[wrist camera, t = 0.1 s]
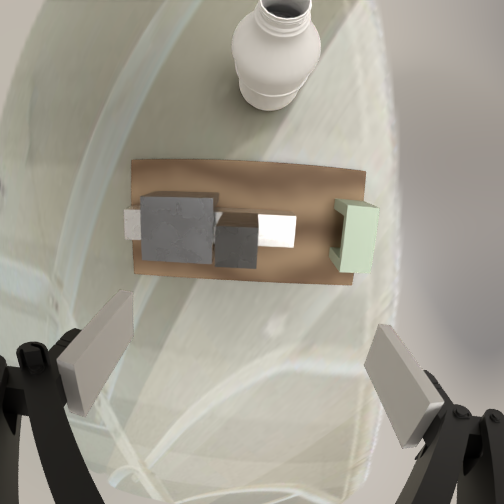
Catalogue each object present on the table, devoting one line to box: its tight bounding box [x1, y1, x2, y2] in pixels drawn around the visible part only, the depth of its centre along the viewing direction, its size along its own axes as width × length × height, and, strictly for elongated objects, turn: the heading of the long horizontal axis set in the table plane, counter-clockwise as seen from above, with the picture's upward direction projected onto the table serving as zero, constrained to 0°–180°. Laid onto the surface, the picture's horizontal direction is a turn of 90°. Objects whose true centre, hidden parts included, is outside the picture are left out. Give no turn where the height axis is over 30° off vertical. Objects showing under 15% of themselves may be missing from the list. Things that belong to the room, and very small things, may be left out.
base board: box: [131, 159, 366, 285], centre depth 42 cm, size 16×31×1 cm, turn 87°
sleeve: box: [140, 191, 219, 264], centre depth 39 cm, size 8×8×6 cm
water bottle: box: [232, 0, 321, 111], centre depth 25 cm, size 7×7×25 cm
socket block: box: [329, 198, 380, 273], centre depth 39 cm, size 8×4×6 cm, turn 177°
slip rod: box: [124, 205, 296, 269], centre depth 36 cm, size 4×21×12 cm, turn 87°
